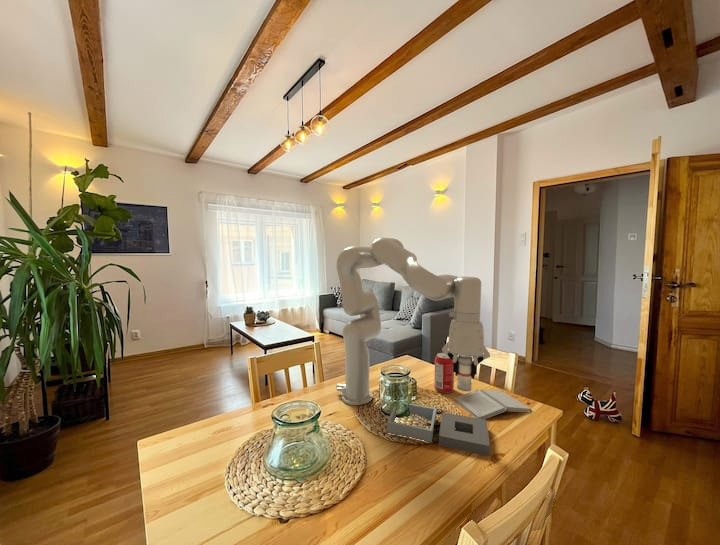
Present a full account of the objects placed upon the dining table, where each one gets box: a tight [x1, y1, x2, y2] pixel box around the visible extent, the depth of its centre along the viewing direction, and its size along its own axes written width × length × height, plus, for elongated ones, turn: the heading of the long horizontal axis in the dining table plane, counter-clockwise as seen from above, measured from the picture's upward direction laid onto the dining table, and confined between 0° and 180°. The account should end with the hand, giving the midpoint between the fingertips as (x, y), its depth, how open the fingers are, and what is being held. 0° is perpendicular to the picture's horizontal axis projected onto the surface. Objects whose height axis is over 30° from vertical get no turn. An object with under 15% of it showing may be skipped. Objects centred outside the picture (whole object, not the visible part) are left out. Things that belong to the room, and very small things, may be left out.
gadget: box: [454, 388, 532, 420], centre depth 112 cm, size 23×15×4 cm, turn 106°
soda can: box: [433, 352, 455, 394], centre depth 125 cm, size 8×8×15 cm
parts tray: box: [386, 403, 437, 444], centre depth 98 cm, size 14×14×4 cm
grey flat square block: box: [438, 411, 491, 457], centre depth 93 cm, size 14×14×3 cm
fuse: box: [456, 355, 473, 392], centre depth 92 cm, size 4×4×10 cm
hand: (464, 374), depth 92 cm, fingers closed on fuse, 4 cm apart
